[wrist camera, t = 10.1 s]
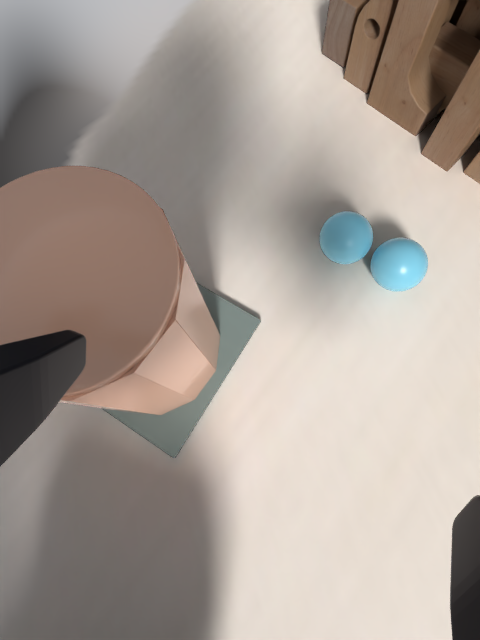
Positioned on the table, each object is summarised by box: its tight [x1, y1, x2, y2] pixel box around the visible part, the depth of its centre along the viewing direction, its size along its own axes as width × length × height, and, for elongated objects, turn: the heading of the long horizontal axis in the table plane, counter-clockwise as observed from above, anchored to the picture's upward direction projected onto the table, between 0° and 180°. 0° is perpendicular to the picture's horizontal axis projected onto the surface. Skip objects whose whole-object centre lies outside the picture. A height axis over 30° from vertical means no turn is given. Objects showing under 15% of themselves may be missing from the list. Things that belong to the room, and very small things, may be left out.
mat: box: [102, 283, 261, 458], centre depth 23 cm, size 9×9×1 cm
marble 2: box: [371, 238, 428, 291], centre depth 22 cm, size 3×3×3 cm
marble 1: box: [319, 211, 373, 264], centre depth 23 cm, size 3×3×3 cm
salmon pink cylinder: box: [0, 166, 220, 415], centre depth 18 cm, size 8×8×11 cm
